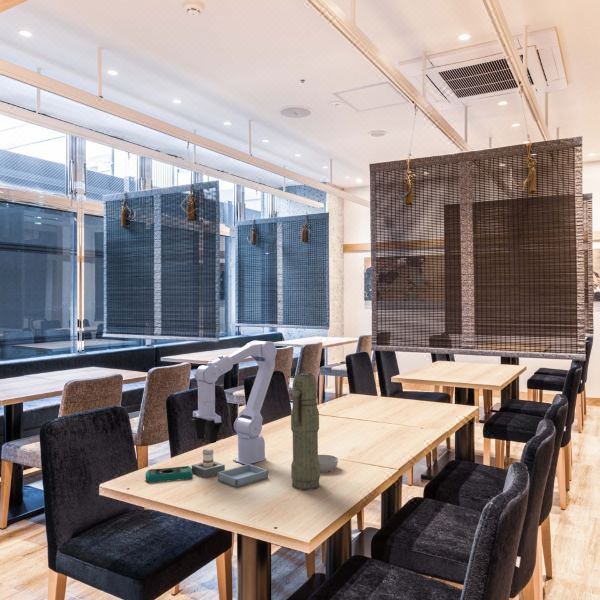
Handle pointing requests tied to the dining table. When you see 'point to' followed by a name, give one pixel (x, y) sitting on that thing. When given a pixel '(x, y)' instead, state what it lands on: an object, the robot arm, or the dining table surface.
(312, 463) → the thermos
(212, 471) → the fuse block
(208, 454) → the cylinder
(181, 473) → the digital multimeter
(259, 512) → the dining table surface
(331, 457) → the small pan
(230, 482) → the parts tray
